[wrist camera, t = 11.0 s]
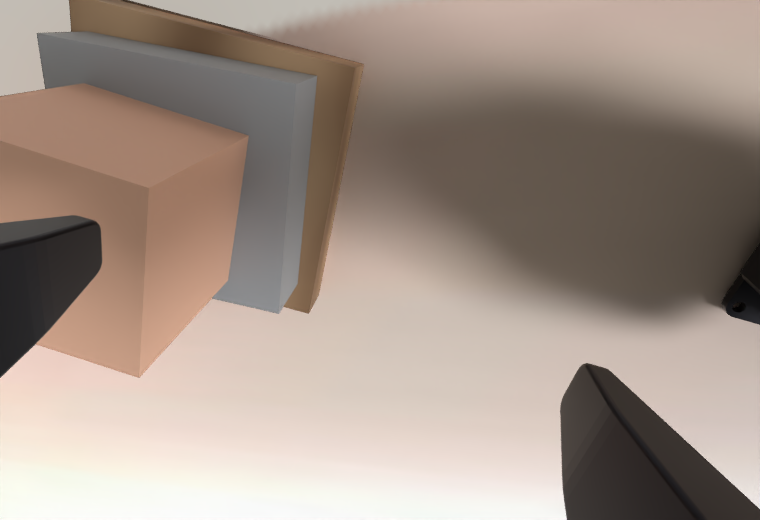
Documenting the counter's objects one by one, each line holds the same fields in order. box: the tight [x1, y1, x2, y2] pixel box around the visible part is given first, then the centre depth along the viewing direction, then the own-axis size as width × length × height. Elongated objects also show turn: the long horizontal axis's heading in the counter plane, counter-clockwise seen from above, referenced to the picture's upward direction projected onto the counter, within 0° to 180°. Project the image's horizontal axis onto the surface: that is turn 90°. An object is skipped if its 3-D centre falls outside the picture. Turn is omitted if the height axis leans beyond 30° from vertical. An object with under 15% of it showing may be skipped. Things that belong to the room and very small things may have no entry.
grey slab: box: [37, 31, 317, 314], centre depth 19 cm, size 9×9×2 cm
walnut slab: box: [69, 0, 364, 314], centre depth 21 cm, size 11×11×2 cm
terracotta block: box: [0, 83, 249, 378], centre depth 15 cm, size 6×6×6 cm
